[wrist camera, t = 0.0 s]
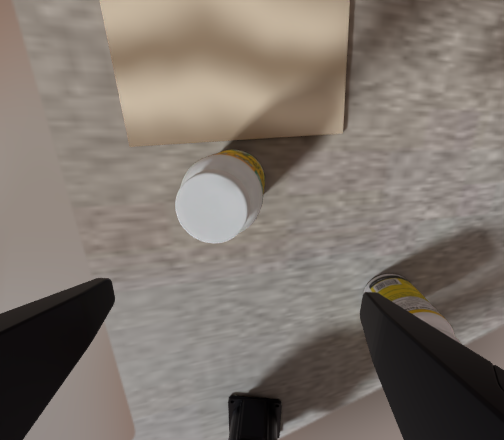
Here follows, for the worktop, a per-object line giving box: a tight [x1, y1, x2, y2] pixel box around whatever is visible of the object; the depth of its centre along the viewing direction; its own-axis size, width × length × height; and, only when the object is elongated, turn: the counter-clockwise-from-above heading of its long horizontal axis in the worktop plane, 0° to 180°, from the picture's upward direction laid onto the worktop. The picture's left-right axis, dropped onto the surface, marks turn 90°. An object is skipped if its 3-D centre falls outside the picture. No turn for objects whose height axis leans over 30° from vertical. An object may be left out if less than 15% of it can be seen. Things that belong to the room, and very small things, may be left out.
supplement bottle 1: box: [175, 150, 265, 243], centre depth 18 cm, size 5×5×10 cm
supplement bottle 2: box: [363, 274, 461, 344], centre depth 21 cm, size 5×5×8 cm
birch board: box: [100, 0, 350, 147], centre depth 19 cm, size 12×18×1 cm, turn 93°
